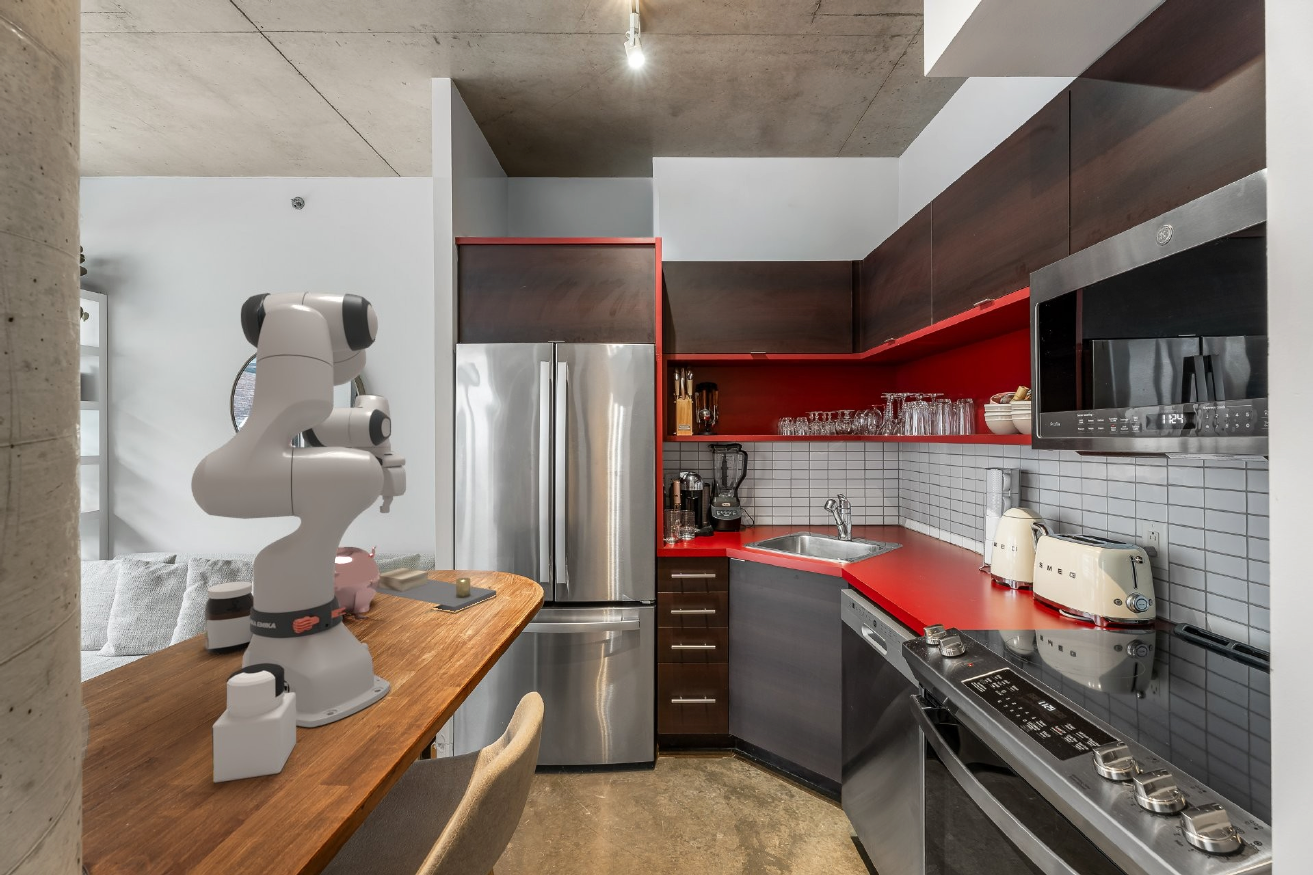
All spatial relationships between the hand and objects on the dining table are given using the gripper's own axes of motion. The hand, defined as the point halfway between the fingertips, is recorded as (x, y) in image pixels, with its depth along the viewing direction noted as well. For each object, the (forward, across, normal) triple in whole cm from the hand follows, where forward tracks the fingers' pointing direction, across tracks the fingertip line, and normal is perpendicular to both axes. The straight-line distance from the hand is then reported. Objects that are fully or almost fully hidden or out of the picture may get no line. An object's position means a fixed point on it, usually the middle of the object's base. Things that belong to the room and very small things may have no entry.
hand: (372, 511), depth 152 cm
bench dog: (+18, +31, 0) cm, 35 cm away
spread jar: (+20, +12, -39) cm, 45 cm away
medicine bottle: (+19, +53, -61) cm, 84 cm away
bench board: (+19, +20, 0) cm, 28 cm away
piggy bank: (+20, +12, -20) cm, 31 cm away
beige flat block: (+18, +11, 0) cm, 21 cm away
